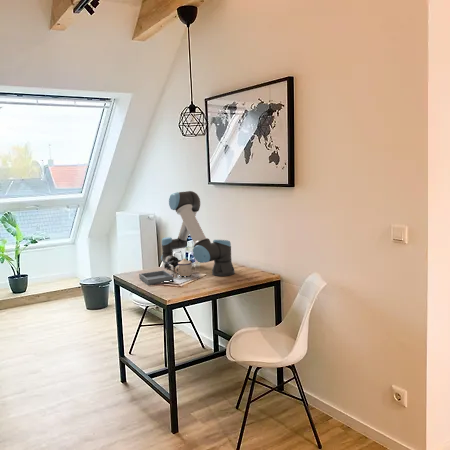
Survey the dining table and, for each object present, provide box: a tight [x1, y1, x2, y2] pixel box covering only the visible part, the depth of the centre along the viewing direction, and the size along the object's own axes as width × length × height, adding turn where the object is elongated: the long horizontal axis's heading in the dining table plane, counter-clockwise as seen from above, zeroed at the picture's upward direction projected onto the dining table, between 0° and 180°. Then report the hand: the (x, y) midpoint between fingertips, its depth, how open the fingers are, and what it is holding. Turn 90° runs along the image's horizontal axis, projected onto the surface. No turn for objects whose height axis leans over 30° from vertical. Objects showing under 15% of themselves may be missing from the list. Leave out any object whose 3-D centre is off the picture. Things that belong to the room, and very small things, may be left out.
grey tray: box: [138, 269, 174, 286], centre depth 311 cm, size 17×20×4 cm
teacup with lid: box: [174, 258, 193, 277], centre depth 318 cm, size 12×9×12 cm
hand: (182, 266), depth 319 cm, fingers open, 13 cm apart
